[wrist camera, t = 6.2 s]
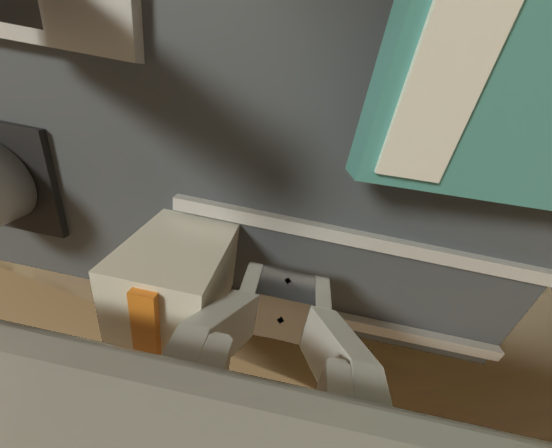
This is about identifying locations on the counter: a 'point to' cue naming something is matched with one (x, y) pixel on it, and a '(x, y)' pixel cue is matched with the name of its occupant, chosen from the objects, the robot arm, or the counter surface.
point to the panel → (252, 161)
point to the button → (15, 188)
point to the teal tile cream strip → (461, 102)
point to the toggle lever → (21, 13)
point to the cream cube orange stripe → (162, 278)
